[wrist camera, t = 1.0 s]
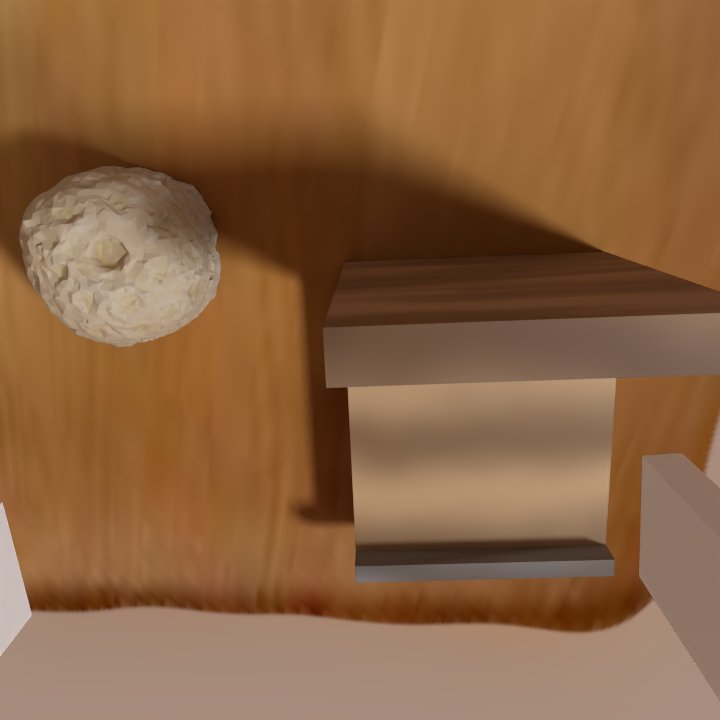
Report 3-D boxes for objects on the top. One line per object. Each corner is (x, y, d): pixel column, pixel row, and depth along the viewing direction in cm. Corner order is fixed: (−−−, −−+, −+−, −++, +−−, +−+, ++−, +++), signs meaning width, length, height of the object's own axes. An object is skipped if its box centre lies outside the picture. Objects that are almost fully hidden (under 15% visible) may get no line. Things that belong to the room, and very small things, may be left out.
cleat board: (344, 261, 37) (322, 327, 21) (603, 251, 36) (774, 310, 21) (357, 539, 41) (348, 759, 26) (588, 533, 41) (718, 753, 25)
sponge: (191, 167, 39) (45, 79, 30) (284, 267, 35) (146, 200, 26) (100, 286, 41) (-62, 235, 32) (178, 393, 37) (17, 370, 28)
